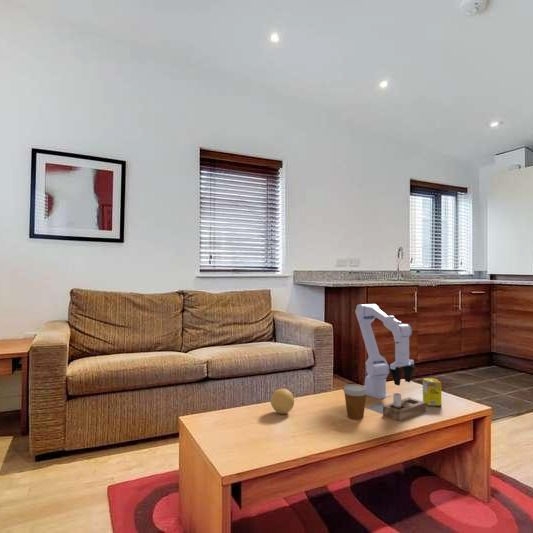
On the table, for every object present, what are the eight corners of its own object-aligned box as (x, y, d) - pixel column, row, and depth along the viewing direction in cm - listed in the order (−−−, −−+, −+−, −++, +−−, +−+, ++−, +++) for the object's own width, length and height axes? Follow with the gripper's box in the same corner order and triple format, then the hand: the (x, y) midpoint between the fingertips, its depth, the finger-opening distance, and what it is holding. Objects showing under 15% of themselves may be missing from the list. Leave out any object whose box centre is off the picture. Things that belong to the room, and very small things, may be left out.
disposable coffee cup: (370, 421, 147) (370, 391, 148) (346, 421, 147) (346, 391, 148) (363, 412, 157) (363, 383, 157) (341, 412, 157) (341, 384, 157)
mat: (365, 408, 162) (365, 407, 162) (379, 403, 168) (379, 402, 168) (382, 414, 155) (382, 413, 155) (397, 409, 161) (397, 408, 161)
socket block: (383, 415, 153) (383, 406, 153) (408, 406, 164) (408, 397, 164) (400, 422, 147) (400, 411, 147) (425, 411, 157) (425, 402, 157)
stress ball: (290, 420, 151) (303, 400, 157) (275, 404, 149) (288, 384, 154) (276, 416, 160) (289, 397, 165) (262, 401, 157) (275, 382, 162)
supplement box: (441, 407, 163) (441, 382, 163) (428, 407, 163) (427, 382, 163) (436, 402, 169) (435, 378, 169) (422, 402, 169) (422, 378, 169)
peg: (392, 416, 153) (391, 394, 153) (396, 414, 154) (396, 392, 155) (398, 418, 150) (398, 396, 150) (402, 417, 152) (402, 394, 152)
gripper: (400, 355, 156) (400, 388, 156) (420, 351, 164) (420, 382, 164) (385, 352, 161) (386, 384, 161) (405, 348, 170) (406, 378, 170)
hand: (402, 383), depth 163 cm, fingers open, 7 cm apart
